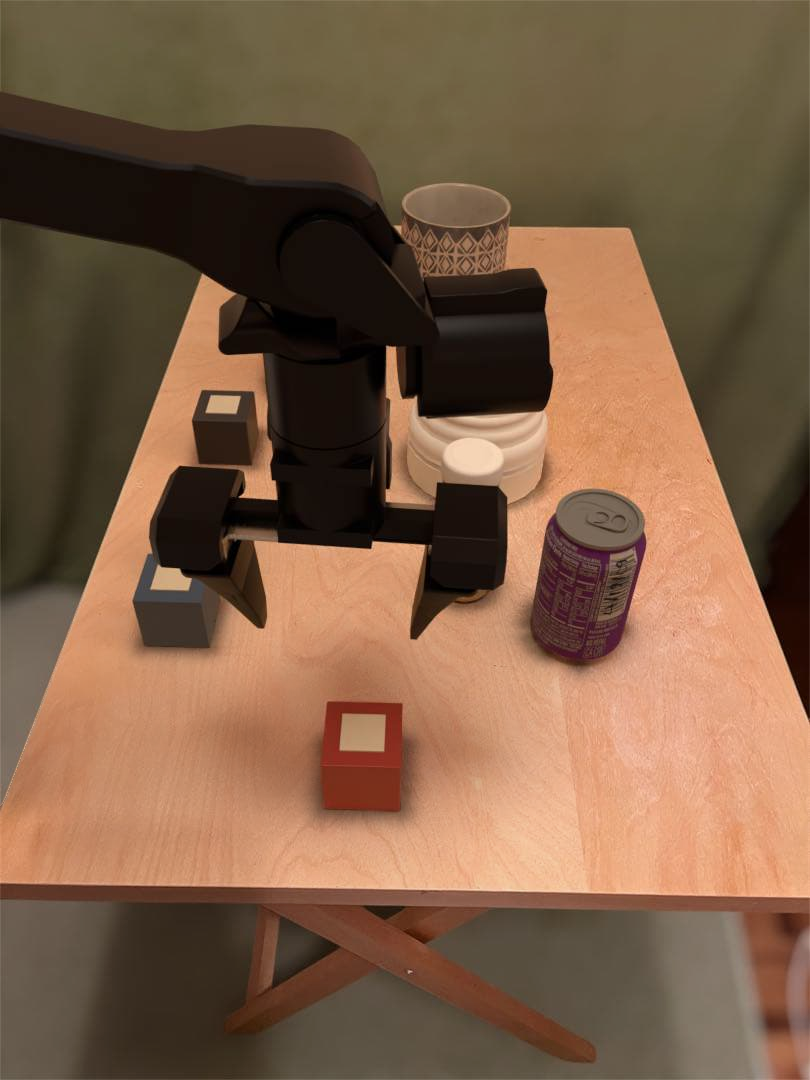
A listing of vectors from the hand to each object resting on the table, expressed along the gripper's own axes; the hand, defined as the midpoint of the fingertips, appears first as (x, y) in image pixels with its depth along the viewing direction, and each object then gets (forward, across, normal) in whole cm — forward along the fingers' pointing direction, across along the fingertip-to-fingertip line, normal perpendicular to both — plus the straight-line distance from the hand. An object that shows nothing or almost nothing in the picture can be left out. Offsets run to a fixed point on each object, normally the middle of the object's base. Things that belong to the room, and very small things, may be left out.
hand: (338, 628), depth 55 cm
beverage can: (+12, -17, -12) cm, 24 cm away
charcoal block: (+12, +15, -32) cm, 38 cm away
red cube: (+12, -2, +2) cm, 12 cm away
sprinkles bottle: (+12, -8, -16) cm, 22 cm away
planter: (+12, -5, -68) cm, 69 cm away
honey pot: (+12, -8, -33) cm, 36 cm away
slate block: (+12, +14, -10) cm, 21 cm away
